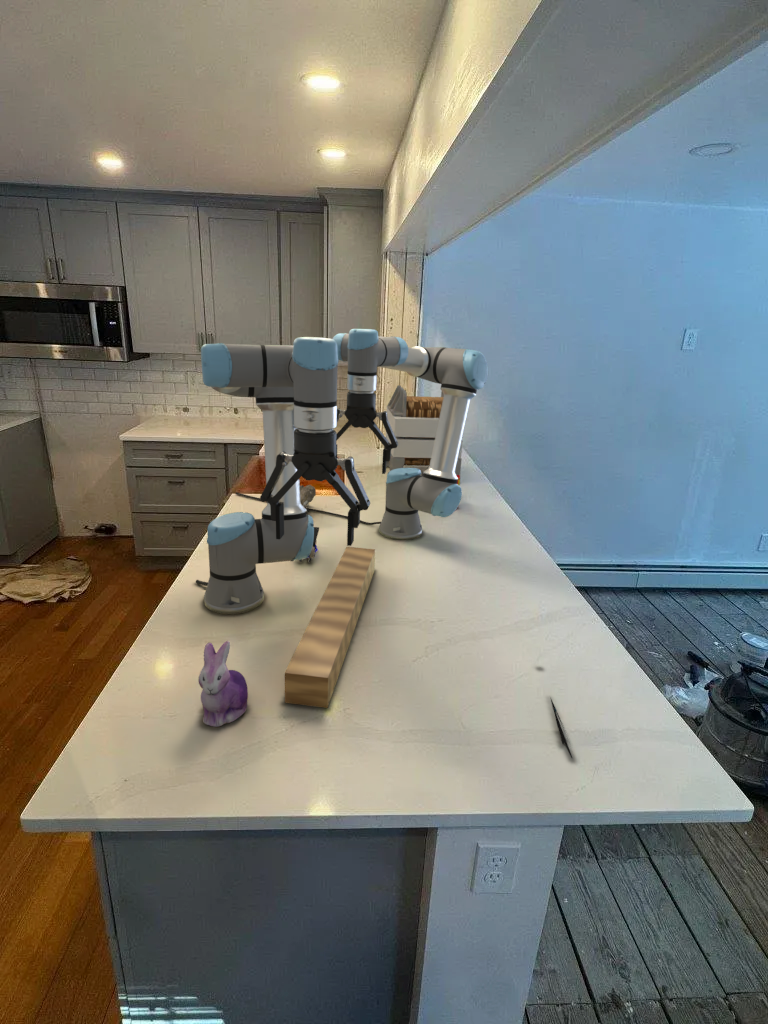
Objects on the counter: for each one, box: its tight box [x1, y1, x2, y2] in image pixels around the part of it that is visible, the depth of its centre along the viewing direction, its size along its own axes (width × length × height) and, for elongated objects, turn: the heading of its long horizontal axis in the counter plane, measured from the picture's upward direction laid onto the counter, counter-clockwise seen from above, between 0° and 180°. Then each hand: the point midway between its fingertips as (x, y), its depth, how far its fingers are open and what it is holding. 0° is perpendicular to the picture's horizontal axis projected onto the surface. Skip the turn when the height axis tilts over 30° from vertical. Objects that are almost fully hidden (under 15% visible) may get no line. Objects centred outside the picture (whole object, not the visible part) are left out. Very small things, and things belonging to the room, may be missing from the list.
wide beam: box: [283, 546, 376, 709], centre depth 141 cm, size 64×9×7 cm, turn 173°
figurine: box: [198, 640, 249, 728], centre depth 107 cm, size 9×10×15 cm
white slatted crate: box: [383, 384, 465, 476], centre depth 268 cm, size 34×33×41 cm
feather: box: [539, 666, 573, 758], centre depth 114 cm, size 2×28×2 cm
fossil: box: [300, 484, 317, 513], centre depth 215 cm, size 22×10×15 cm
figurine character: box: [298, 526, 320, 563], centre depth 178 cm, size 7×8×15 cm
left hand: (315, 540), depth 107 cm, fingers open, 13 cm apart
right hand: (359, 470), depth 154 cm, fingers open, 13 cm apart
